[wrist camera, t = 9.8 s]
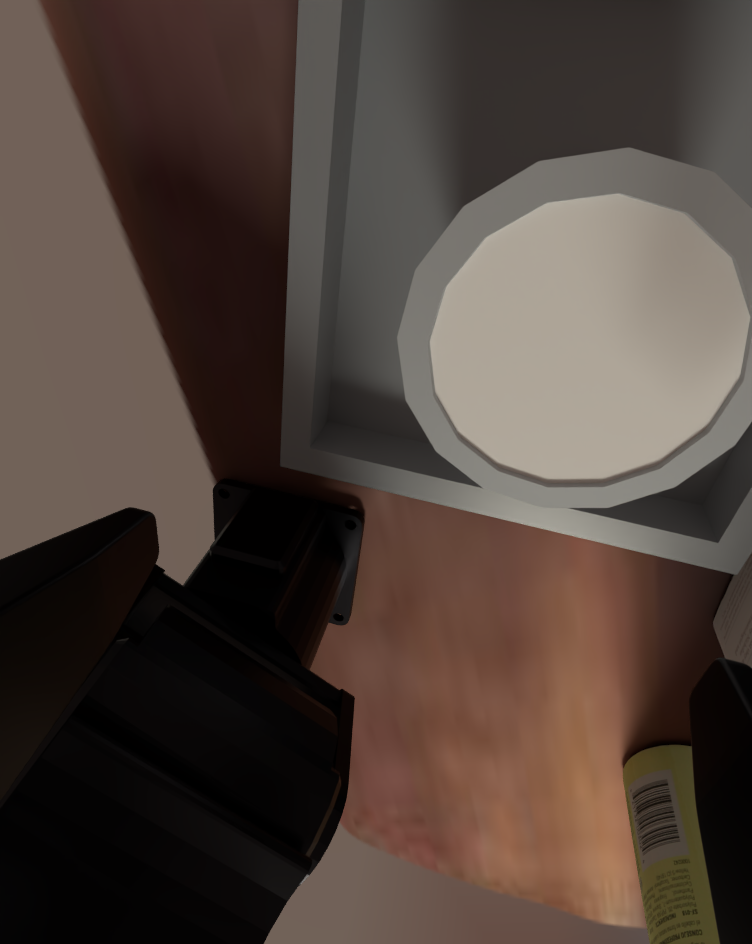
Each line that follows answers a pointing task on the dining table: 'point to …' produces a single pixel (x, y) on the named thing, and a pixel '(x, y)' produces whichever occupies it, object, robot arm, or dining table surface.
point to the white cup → (585, 330)
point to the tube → (669, 846)
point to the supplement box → (736, 617)
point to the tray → (465, 179)
